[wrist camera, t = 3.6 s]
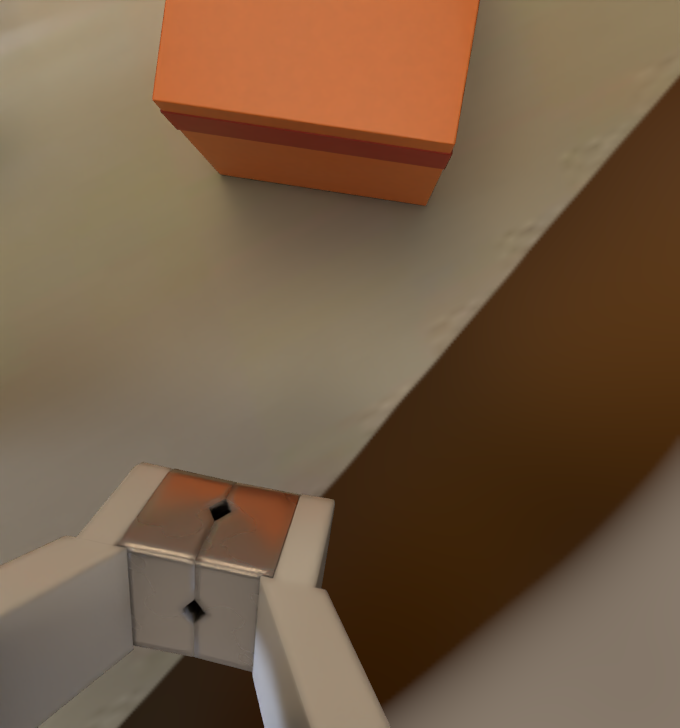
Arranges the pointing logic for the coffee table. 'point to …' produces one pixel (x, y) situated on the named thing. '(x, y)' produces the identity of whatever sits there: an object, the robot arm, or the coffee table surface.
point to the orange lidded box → (319, 89)
